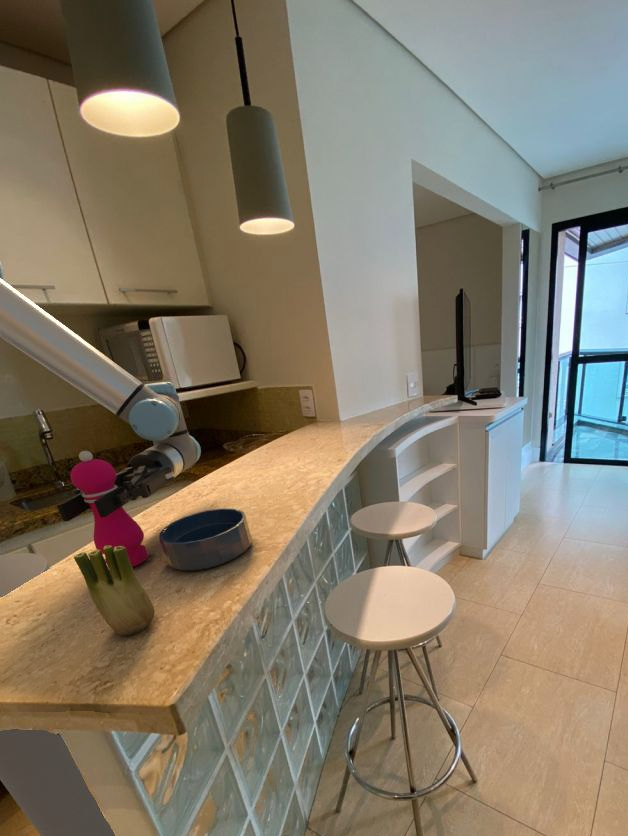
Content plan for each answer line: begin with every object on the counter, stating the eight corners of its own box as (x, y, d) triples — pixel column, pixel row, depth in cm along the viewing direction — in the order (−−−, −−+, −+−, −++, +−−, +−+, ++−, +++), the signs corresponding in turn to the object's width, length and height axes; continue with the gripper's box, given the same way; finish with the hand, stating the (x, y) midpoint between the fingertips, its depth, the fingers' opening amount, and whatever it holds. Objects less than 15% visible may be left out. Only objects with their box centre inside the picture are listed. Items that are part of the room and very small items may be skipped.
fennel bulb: (102, 636, 53) (64, 556, 48) (134, 613, 57) (102, 537, 53) (136, 642, 51) (100, 559, 46) (166, 617, 55) (135, 539, 51)
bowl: (151, 565, 70) (141, 537, 68) (215, 530, 81) (208, 505, 79) (207, 579, 64) (197, 548, 62) (268, 539, 75) (261, 512, 73)
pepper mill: (130, 550, 76) (88, 445, 68) (160, 552, 74) (120, 444, 66) (95, 570, 70) (44, 458, 62) (126, 573, 67) (78, 457, 60)
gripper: (204, 480, 85) (147, 527, 63) (118, 489, 85) (33, 539, 64) (193, 444, 82) (131, 481, 60) (105, 454, 82) (11, 494, 61)
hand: (81, 511), depth 62 cm, fingers closed on pepper mill, 5 cm apart
